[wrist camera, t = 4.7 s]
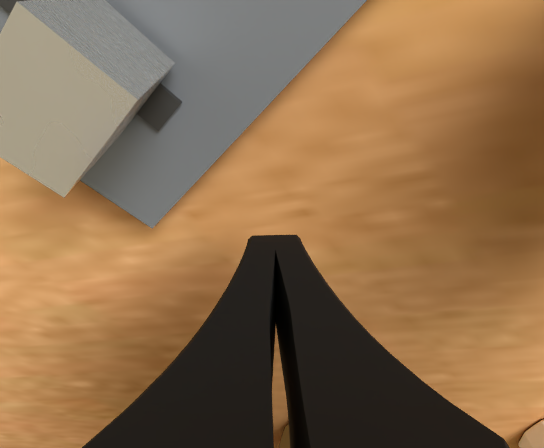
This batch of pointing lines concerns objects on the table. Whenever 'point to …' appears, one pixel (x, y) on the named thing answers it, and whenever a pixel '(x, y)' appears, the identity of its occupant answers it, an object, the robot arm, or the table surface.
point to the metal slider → (70, 85)
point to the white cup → (533, 436)
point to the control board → (204, 88)
